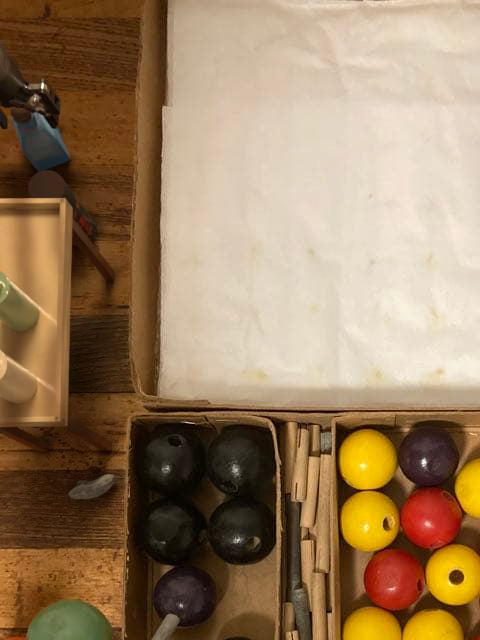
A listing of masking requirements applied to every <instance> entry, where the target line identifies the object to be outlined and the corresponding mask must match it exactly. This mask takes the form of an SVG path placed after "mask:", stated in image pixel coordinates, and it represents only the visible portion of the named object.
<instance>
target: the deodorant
mask: <svg viewBox="0 0 480 640" xmlns="http://www.w3.org/2000/svg"><path fill="white" fill-rule="evenodd" d="M27 185H28V186H27V190H28V195H29V198H66V200H67V201H68V202H69V204H70V205H71V206H72V208H73V217H72V218H73V219H74V221H75V222H76V223H77V224H78V226H79V227H80V228H81V229H82V231H83V232H84V233H85V234H86V236H87V237H88V238H89V240H90V241H91V242H92V243H93V241H94V239H96V236H97V234H98V233H97V232H98V227H97V224H96V222H95V220H94V219H93V217H92V216H91V214H89V211H87V210H86V208H85V207H84V205H83V204H82V203H81V201H80V200H79V199H78V197H77V196H76V195H75V193H74V192H73V190H72V189H71V188H70V186H69V185H68V184H67V182H66V181H65V180H64V178H63V177H62V175H60V174H59V173H58V172H56V171H53V170H50V169H46V170H43V171H40V172H38V171H37V172H36V173H35V174H34V175H32V177H31V178H30V180H29V182H28V184H27ZM72 246H75V247H78V246H77V245H76V244H75V243H74V241H73V240H72Z"/></svg>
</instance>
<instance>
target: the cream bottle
mask: <svg viewBox="0 0 480 640" xmlns="http://www.w3.org/2000/svg"><path fill="white" fill-rule="evenodd" d="M36 390H37V380H36V377H35V375H34V374H33V373H32V372H31V371H30V370H29V369H27V368H26V367H24V366H23V365H21V364H20V363H19V362H17V361H16V360H14V359H13V358H11V357H10V356H8V355H7V354H6V353H4V352H3V351H1V350H0V397H1V398H3V399H5V400H6V401H8V402H10V403H14V404H21V403H25V402H27V401H29V400H30V399H31V398H32V397H33V396H34V395H35V393H36Z"/></svg>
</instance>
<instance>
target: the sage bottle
mask: <svg viewBox="0 0 480 640" xmlns="http://www.w3.org/2000/svg"><path fill="white" fill-rule="evenodd" d="M38 318H39V308H38V305H37V303H36V302H35V301H34V300H33V299H32V298H31V297H30V296H29V295H27V294H26V293H25V292H24V291H23V290H22V289H21V288H20V287H19V286H17V285H16V284H15V283H14V282H13V281H12V280H11V279H10V278H9V277H7V276H6V275H5V274H4V273H3V272H2V271H0V322H1V323H3V324H4V325H5V326H7V327H8V328H9V329H11V330H13V331H18V332H22V331H26V330H29V329H30V328H32V327H33V326H34V325H35V324H36V323H37V321H38Z"/></svg>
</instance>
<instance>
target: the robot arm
mask: <svg viewBox="0 0 480 640" xmlns="http://www.w3.org/2000/svg"><path fill="white" fill-rule="evenodd" d="M29 101H30V103H28V102H29ZM40 104H41V105H42V107H41V106H40ZM1 107H2V108H4V109H11V107H16V108H23V109H25V110H27V111H29V112H31V113H35V112H37V113H39V114H41V115H43V116H44V118H45V120H46V121H47V122H48V124H49V125H50V127H51V128H52V129H57V128H58V127H59V119H60V118H59V115H61V98H60V97H59V95H58V93H56V91H55V90H54V88H53V87H52V85H51V84H50V83H49V82H48V80H47V79H45V78H39V80H38V83H31V82H29V80H27V79H25V78H24V77H23V74H22V72H21V70H20V68H19V66H18V65H17V63H16V62H15V61H14V59H13V57H12V56H11V55H10V54H9V52H8V50H7V49H6V47H5V46H4V45H3V43H2V42H1V40H0V128H1V130H8V125H9V124H8V122H9V119H8V116H7V115H6V114H5V113H4V111H3V110H2V109H1Z"/></svg>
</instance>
